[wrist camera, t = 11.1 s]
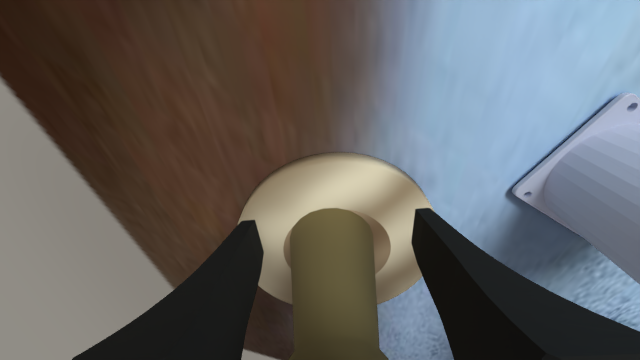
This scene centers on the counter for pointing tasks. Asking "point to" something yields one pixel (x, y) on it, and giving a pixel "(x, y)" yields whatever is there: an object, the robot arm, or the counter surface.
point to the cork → (334, 287)
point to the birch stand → (345, 193)
